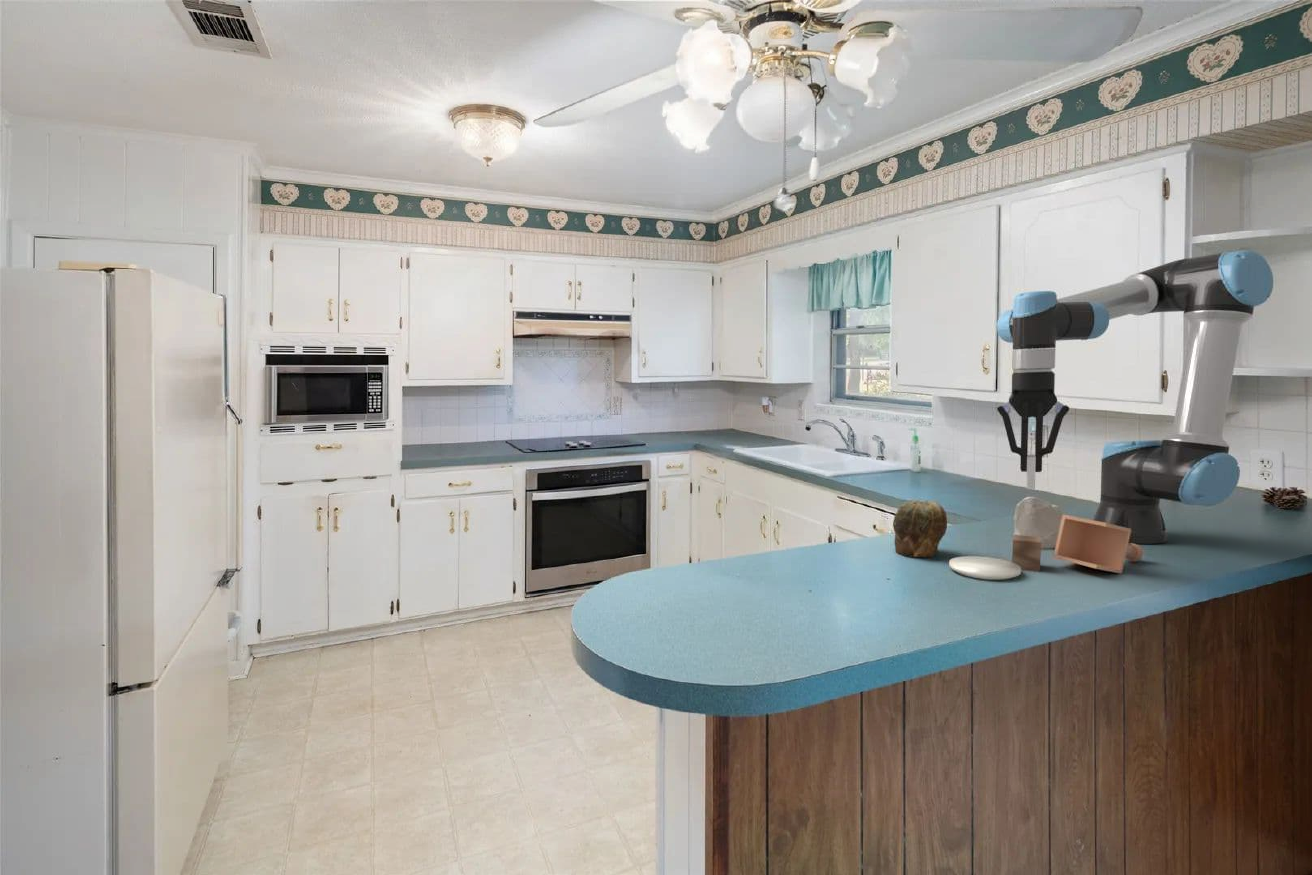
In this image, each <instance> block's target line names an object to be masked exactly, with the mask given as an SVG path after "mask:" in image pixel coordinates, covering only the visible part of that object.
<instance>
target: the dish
mask: <svg viewBox="0 0 1312 875" xmlns="http://www.w3.org/2000/svg"><path fill="white" fill-rule="evenodd" d="M948 562H949V563H948V565H949V568H950V569H951V570H952V571H954V572H956V573H958V574H960V575H962V576H966V577H968V578H974V579H979V580H980V579H981V580H990V581H1002V580H1004V581H1005V580H1010V579H1013V578H1015V577H1019V576H1020V575H1021V573H1022V570H1021V567H1020V566H1019V565H1017V564H1015V563H1013V562H1012V561H1009V560H1006V559H1002V558H996V557H990V556H978V555H977V556H976V555H966V556H965V555H964V556H957V557H953V558H950V559H949V561H948Z"/></svg>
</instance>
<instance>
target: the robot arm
mask: <svg viewBox="0 0 1312 875" xmlns="http://www.w3.org/2000/svg"><path fill="white" fill-rule="evenodd" d="M1273 289H1274V275H1273V271H1272V268H1271V266H1270V264H1268V261H1267V259H1265V257H1264V256H1263V255H1261V253H1258V252H1256V251H1254V250H1249V249H1245V250H1236V251H1232V250H1228V251H1224V252H1220V253H1214V254H1208V255H1202V256H1195V257H1190V258H1183V259H1181V258H1180V259H1178V260H1173V261H1170V262H1168V263H1163V264H1162V265H1159V266H1155V267H1153V268H1150V269H1147V270H1144V271H1140V272H1137V273H1134V274H1131V275H1129V276H1127V277H1125V278H1124V279H1123V280H1122V281H1121V282H1117V283H1114V284H1109V285H1106V286H1102V287H1097V288H1094V289H1090V290H1087V291H1083V292H1079V293H1075V294H1071V295H1067V296H1063V297H1060V298H1058V297H1057V296H1058V295H1057V293H1056V292H1055V291H1052V290H1042V291H1040V290H1038V291H1029V292H1021V293H1018V294H1017V295H1016V296H1015V297H1014V301H1013V307H1012V308H1013V309H1009V310H1006V311H1004V312H1003V313H1001V315H1000V316H999V318H998V320H997V321H996V322H997V324H996V330H997V335H998V336H999V338H1000V339H1001V340H1003V341H1004V342H1006V343H1010V344H1012V350H1011V351H1012V352H1011V355H1012V357H1011V360H1012V361H1011V362H1012V363H1011V369H1012V370H1015V372H1013V373H1011V394H1010V396H1009V397H1008V401H1007V402H1004V403H1003V404H1001V405H998V406H997V409H996V411H997V412H998V413H999V415H1000V416H1001V418H1002V420H1003V421H1002V422H1003V424H1004V430H1005V432H1006V436H1007V439H1008V444H1009V447H1010V448H1009V449H1010V452H1011V453H1013V454H1017V455H1019V457H1020V464H1019V465H1020V471H1021V472H1023V473H1025V472H1026V480H1025V481H1026V485H1025V486H1026V490H1036V473H1041V472H1042V471H1043V456H1045V455H1048V454H1049V455H1050V454H1052V453H1053V451H1054V447H1055V445H1056V442H1057V439H1058V435H1059V432H1060V428H1061V426H1062V423H1063V418H1064V417H1065V416H1066V415H1067V414H1068V412H1069V411H1070V407H1069V406H1068V405H1066V404H1064V403H1061V402H1060V401H1058V397H1057V396H1056V394H1055V388H1056V387H1055V384H1056V383H1055V382H1056V380H1055V377H1056V373H1055V372H1054V371H1053V370H1052V369H1055V367H1056V348H1057V347H1056V345H1057V344H1056V343H1057V342H1058V341H1059V342H1061V341H1073V340H1074V341H1075V340H1076V341H1077V340H1081V341H1087V340H1094V339H1098V338H1099V337H1102V336H1103V335H1104V334H1105V332H1106V331H1107V330H1108V328H1109V324H1110V320H1113V319H1117V318H1121V317H1123V316H1128V315H1133V316H1145V315H1149V314H1153V313H1170V312H1171V313H1174V312H1183V317H1184V318H1185V319H1186V320H1187V321H1188V322H1189V323H1190V326H1189V333H1188V339H1187V342H1186V343H1187V344H1186V350H1185V355H1184V360H1183V361H1184V362H1183V367H1182V372H1181V373H1182V374H1181V379H1180V383H1179V384H1180V385H1179V390H1178V396H1177V402H1176V408H1175V413H1174V418H1173V419H1174V420H1173V426H1172V431H1171V432H1170V433H1169V434H1167V435H1166V436H1164V437H1163V438H1162V440H1161V439H1149V440H1148V439H1146V440H1126V441H1125V440H1123V441H1110V442H1107V443H1106V444H1105V445H1104V446H1103V448H1102V450H1103V451H1102V457H1101V458H1100V459H1101V460H1100V461H1101V469H1100V480H1101V481H1100V499H1099V500H1100V502H1099V505H1098V507H1097V509H1096V511H1095V513H1094V515H1093V519H1092V520H1094V521H1099V522H1104V523H1108V524H1113V525H1117V526H1121V527H1125V528H1129V529H1131V533H1130V538H1129V542H1128V544H1129V543H1134V544H1142V545H1146V544H1147V545H1150V544H1151V545H1152V544H1162V543H1166V542H1167V541H1168V530H1167V528H1166V524H1165V521H1164V517H1163V515H1162V511H1161V508H1160V502H1161V501H1160V500H1164V501H1165V500H1166V501H1170V502H1176V503H1180V504H1185V505H1186V506H1187V505H1188V506H1189V505H1190V506H1201V507H1214V506H1216V505H1220V504H1221V503H1223V502H1224V501H1225V500H1226V499H1229V497H1231V495H1232V494H1233V493H1234V491H1235V489H1236V488H1237V486H1238V484H1239V481H1240V474H1241V469H1240V468H1241V467H1240V466H1239V462H1238V460H1237V459H1236V457H1235V456H1233V455H1231V454H1229V450H1230V445H1229V443H1227V441H1225V440H1224V438H1223V432H1224V426H1225V422H1226V414H1227V409H1228V404H1229V398H1230V393H1231V392H1230V391H1231V387H1232V382H1233V381H1232V380H1233V375H1234V368H1235V365H1236V364H1235V363H1236V358H1237V352H1238V347H1239V346H1238V345H1239V341H1240V336H1241V329H1242V325H1244V324H1245V323H1246V322H1248V321H1249V320H1251V319H1252V318H1253V316H1254V315H1253V314H1254V309H1255V307H1257V306H1260V305H1262V304H1264V303H1266V301H1268V299H1269V298H1270V297H1271V295H1272V292H1273ZM1011 407H1012V408H1013V410H1014V411H1015V412H1016V413H1017V415H1018V416H1019V417H1021V420H1020V421H1021V422H1020V423H1021V424H1020V425H1021V426H1020V427H1021V428H1020V447H1019V446H1017V444H1018V443H1017V440H1016V437H1015V432H1014V429H1013V424H1012V422H1011V417H1010V413H1011ZM1053 407H1054V412H1055V414H1056V415H1055V416H1054V419H1053V423H1052V425H1051V428H1050V432H1049V436H1048V440H1047V442H1046V445H1045V447H1043V444H1044V441H1043V438H1044V437H1043V435H1044V417H1046V415H1047V414H1048V413H1049V412H1050V411H1051V410H1052V409H1053ZM1029 418H1035V439H1034V440H1035V441H1034V443H1035V444H1034V445H1035V447H1034V448H1035V449H1034V455H1033V454H1028V452H1029V451H1028V448H1029V445H1028V444H1029Z"/></svg>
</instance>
